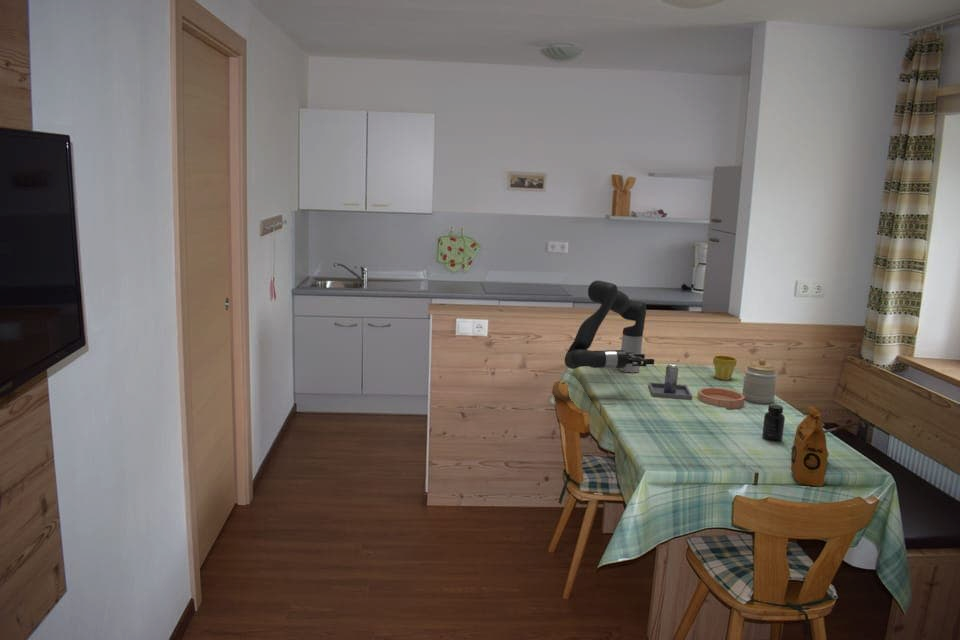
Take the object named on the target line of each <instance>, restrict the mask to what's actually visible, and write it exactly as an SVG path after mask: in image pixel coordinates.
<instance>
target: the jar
mask: <svg viewBox="0 0 960 640" xmlns="http://www.w3.org/2000/svg"><path fill="white" fill-rule="evenodd" d="M776 371H777V368H776V367H775V366H774V365H773V364H772V363H768V362H766V359H764V358H760V359H759V360H758V361H752V362H750V363H749V364H747V368H746V369H744V373H745V376H744V377H743V385H742V391H741V394H743V396H744V397H745V401H748V402H750V403H751V402H752V403H757V404H771V402H772V403H774V400H775V392H776V385H777V381H776V378H777V376H778V373H777V372H776Z"/></svg>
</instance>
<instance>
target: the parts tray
mask: <svg viewBox="0 0 960 640" xmlns="http://www.w3.org/2000/svg"><path fill="white" fill-rule="evenodd" d="M664 384H665V383H660V382H648V389H649V391H650V394H651V397H652V398H665V399H674V400H686V401H687V400H689V401H693V394H692V393H691V391H690V389H689V388H688V387H689V386H687V385H686V384H677V387H676V394H670V393H664Z"/></svg>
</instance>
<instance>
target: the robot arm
mask: <svg viewBox="0 0 960 640" xmlns="http://www.w3.org/2000/svg"><path fill="white" fill-rule="evenodd" d="M587 295H588V298H589V300H590V301H591V302H594V303H598V304H600V306H599V308H598V309H597V310H596V311H595V312H594V313H593V314H591V315H590V316H589V317H588V318H586V319H585V320H584V321H583V322H582V324H581V325H580V326H579V328H578V330H577V333H576V336H575V338H574V340H573V341H572V343H571V345H570V346H569V348H568V350H567V352H566V354H565V356H564V364H565V366H566V367H567V368H569V369H572V370H575V369H578V368H581V367H590V368H595V369H599V368H600V369H603V368H604V369H618V370H619V372H624V373H628V372H630V374H635V373H634V372H637V373H640V367H647V365H655V358H645V357H646V355H645V353H642V347H643V345H642V344H643V337H644V336H643V335H644V328H645V321H646V315H647V305H646V303H645V302H644V301H639V300H632V299H630V297H629V295H627V294H626V293H624V292H622V291H620V290H618V286H617V285H616V284H615V283H612V282H608V281H604V280H594V281H592V282H591V283H590V285H588V289H587ZM609 311H612V312H614V313H616V314H618V315H619V316H620V317H622V318H623V319H624V320H627V321H634V322H635V323H634V324H633V325H630V326H625V327H624V328H623V329H622V337H621V347H620V349H606V350H591V349H590V347H591V346H592V344H593V341H594V339H595V337H596V334H597V332H598V329H599V328H600V326H602V325H601V324H602V323H603V321H604V320H605V318H606V317H607V315H608V313H609ZM589 349H590V350H589Z"/></svg>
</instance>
